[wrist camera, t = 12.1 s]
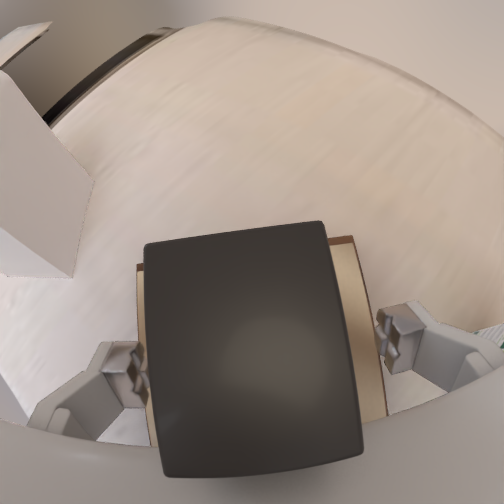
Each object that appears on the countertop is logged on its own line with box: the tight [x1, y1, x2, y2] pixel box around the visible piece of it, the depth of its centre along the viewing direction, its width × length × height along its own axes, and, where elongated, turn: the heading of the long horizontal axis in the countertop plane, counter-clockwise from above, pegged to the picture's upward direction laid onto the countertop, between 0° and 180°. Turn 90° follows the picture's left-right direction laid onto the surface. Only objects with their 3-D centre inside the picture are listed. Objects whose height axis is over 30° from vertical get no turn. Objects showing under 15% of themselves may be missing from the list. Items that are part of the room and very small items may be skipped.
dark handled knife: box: [143, 221, 364, 478], centre depth 10 cm, size 4×2×15 cm, turn 7°
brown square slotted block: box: [137, 235, 388, 447], centre depth 19 cm, size 20×20×8 cm
